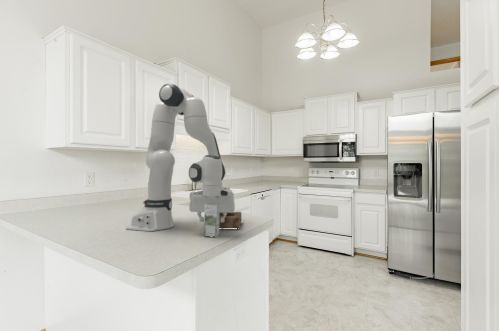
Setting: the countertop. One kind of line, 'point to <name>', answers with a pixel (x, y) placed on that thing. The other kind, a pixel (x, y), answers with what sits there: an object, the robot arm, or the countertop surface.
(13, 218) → the countertop surface
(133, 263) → the countertop surface
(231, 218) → the walnut caddy
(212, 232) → the syrup box
